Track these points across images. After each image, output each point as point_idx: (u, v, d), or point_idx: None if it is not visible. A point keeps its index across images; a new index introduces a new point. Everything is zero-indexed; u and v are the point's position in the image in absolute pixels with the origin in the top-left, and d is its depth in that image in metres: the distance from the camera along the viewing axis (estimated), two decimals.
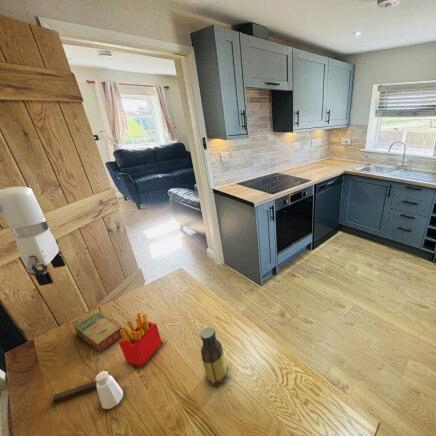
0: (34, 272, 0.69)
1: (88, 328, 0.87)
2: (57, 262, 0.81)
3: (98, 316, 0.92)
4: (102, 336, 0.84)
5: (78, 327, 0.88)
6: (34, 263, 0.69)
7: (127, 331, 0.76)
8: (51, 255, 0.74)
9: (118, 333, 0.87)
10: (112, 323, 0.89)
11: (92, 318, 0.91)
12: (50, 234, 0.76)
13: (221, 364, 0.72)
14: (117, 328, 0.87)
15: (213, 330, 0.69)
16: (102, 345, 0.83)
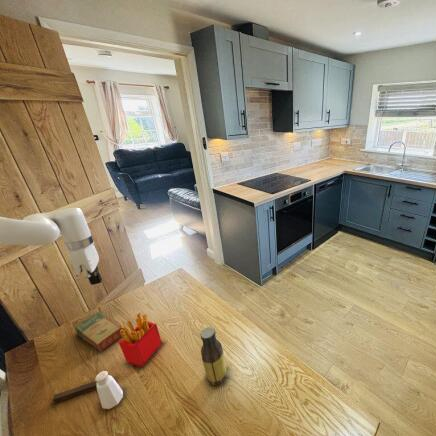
0: None
1: (88, 327, 0.87)
2: None
3: (98, 316, 0.92)
4: (102, 336, 0.84)
5: (78, 327, 0.88)
6: (87, 271, 0.86)
7: (127, 331, 0.76)
8: (95, 264, 0.89)
9: (118, 333, 0.87)
10: (112, 323, 0.89)
11: (92, 318, 0.91)
12: (93, 246, 0.90)
13: (221, 364, 0.72)
14: (117, 328, 0.87)
15: (213, 330, 0.69)
16: (102, 345, 0.83)
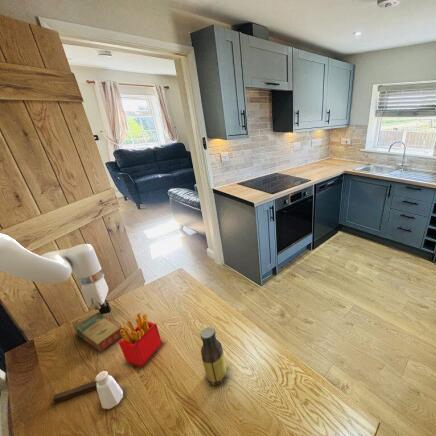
0: None
1: (88, 328, 0.87)
2: None
3: (98, 316, 0.92)
4: (102, 336, 0.84)
5: (78, 327, 0.88)
6: (98, 303, 0.90)
7: (127, 331, 0.76)
8: (105, 295, 0.92)
9: (118, 333, 0.87)
10: (112, 323, 0.89)
11: (92, 319, 0.91)
12: (103, 278, 0.94)
13: (221, 364, 0.72)
14: (117, 328, 0.87)
15: (213, 330, 0.69)
16: (102, 345, 0.83)
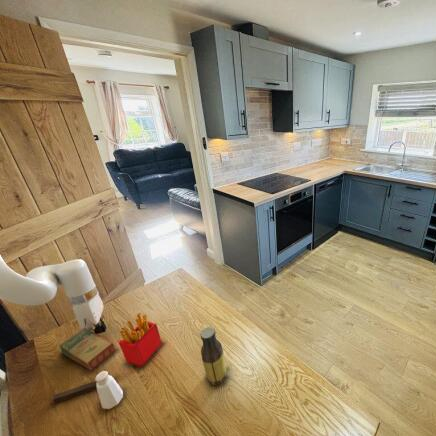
0: None
1: (75, 345, 0.81)
2: None
3: (85, 332, 0.86)
4: (91, 354, 0.78)
5: (63, 345, 0.81)
6: (92, 324, 0.82)
7: (127, 331, 0.76)
8: (99, 314, 0.85)
9: (109, 349, 0.81)
10: (102, 339, 0.83)
11: (79, 335, 0.84)
12: (97, 295, 0.86)
13: (221, 364, 0.72)
14: (108, 344, 0.81)
15: (213, 330, 0.69)
16: (92, 364, 0.77)
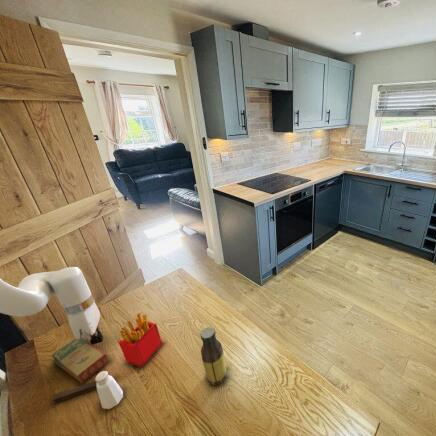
0: None
1: (68, 355, 0.77)
2: None
3: (79, 341, 0.82)
4: (82, 365, 0.74)
5: (55, 355, 0.78)
6: (88, 334, 0.78)
7: (127, 331, 0.76)
8: (96, 324, 0.81)
9: (102, 361, 0.78)
10: (95, 349, 0.80)
11: (73, 344, 0.81)
12: (94, 303, 0.82)
13: (221, 364, 0.72)
14: (100, 355, 0.78)
15: (213, 330, 0.69)
16: (83, 376, 0.73)
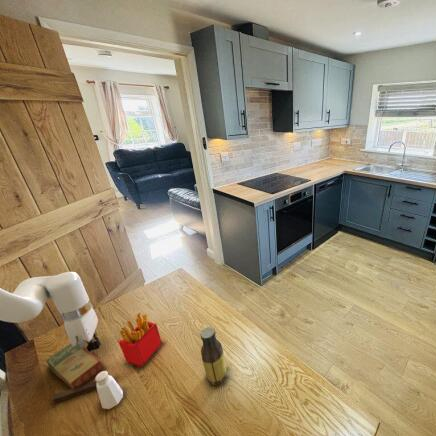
0: None
1: (62, 361, 0.75)
2: None
3: (74, 346, 0.80)
4: (76, 373, 0.72)
5: (49, 360, 0.76)
6: (84, 341, 0.76)
7: (127, 331, 0.76)
8: (93, 330, 0.79)
9: (96, 368, 0.75)
10: (90, 355, 0.77)
11: (68, 349, 0.79)
12: (91, 309, 0.80)
13: (221, 364, 0.72)
14: (95, 362, 0.76)
15: (213, 330, 0.69)
16: (76, 384, 0.71)
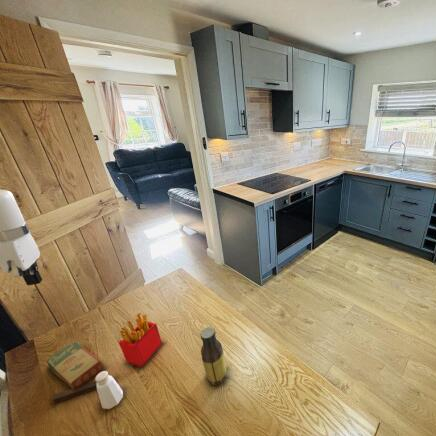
0: None
1: (62, 361, 0.75)
2: None
3: (74, 346, 0.80)
4: (76, 373, 0.72)
5: (49, 360, 0.76)
6: (19, 269, 0.70)
7: (127, 331, 0.76)
8: (31, 260, 0.73)
9: (96, 368, 0.75)
10: (90, 355, 0.77)
11: (68, 349, 0.79)
12: (31, 238, 0.74)
13: (221, 364, 0.72)
14: (95, 362, 0.76)
15: (213, 330, 0.69)
16: (76, 384, 0.71)
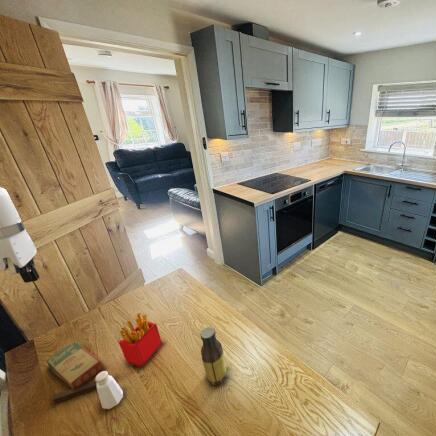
0: (19, 271, 0.71)
1: (62, 361, 0.75)
2: None
3: (74, 346, 0.80)
4: (76, 373, 0.72)
5: (49, 360, 0.76)
6: (15, 266, 0.70)
7: (127, 331, 0.76)
8: (27, 257, 0.73)
9: (96, 368, 0.75)
10: (90, 355, 0.77)
11: (68, 349, 0.79)
12: (27, 235, 0.74)
13: (221, 364, 0.72)
14: (95, 362, 0.76)
15: (213, 330, 0.69)
16: (76, 384, 0.71)
